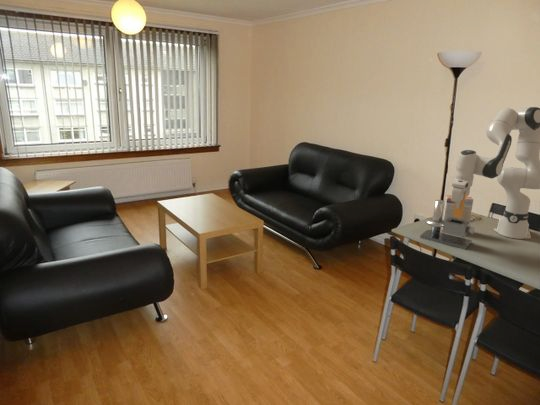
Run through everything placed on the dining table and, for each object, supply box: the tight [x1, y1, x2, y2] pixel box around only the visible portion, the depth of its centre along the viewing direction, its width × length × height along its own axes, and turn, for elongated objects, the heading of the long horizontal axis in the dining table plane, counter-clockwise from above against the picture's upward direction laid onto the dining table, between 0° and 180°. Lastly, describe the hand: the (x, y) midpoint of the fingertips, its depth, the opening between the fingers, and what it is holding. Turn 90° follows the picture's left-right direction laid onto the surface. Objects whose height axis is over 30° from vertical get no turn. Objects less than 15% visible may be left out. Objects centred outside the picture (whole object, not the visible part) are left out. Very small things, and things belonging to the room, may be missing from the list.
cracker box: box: [441, 194, 474, 232], centre depth 230 cm, size 14×6×21 cm, turn 76°
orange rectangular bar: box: [453, 192, 466, 218], centre depth 209 cm, size 3×4×14 cm
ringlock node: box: [419, 199, 476, 250], centre depth 215 cm, size 12×25×22 cm, turn 50°
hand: (458, 206), depth 210 cm, fingers closed on orange rectangular bar, 3 cm apart
